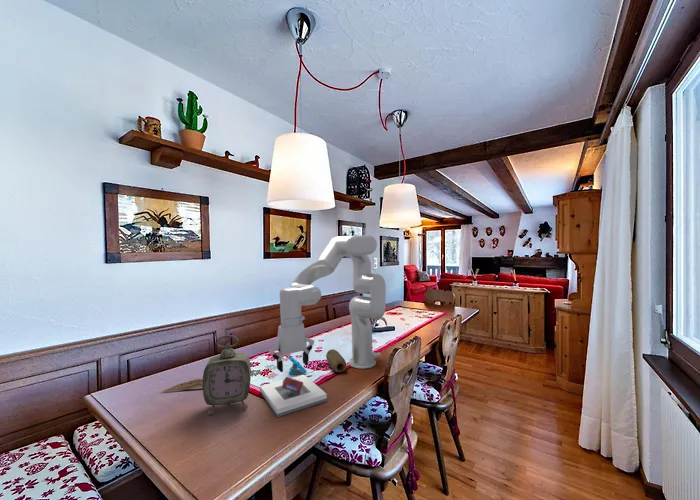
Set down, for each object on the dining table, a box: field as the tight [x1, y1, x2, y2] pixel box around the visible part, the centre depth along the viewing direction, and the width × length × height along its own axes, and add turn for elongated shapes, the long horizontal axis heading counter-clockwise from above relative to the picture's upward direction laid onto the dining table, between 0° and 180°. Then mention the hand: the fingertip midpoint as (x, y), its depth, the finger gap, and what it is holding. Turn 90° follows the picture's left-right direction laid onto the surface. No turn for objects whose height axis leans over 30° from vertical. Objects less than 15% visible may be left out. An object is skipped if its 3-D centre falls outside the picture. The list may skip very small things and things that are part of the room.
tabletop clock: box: [202, 334, 252, 416], centre depth 101 cm, size 14×9×25 cm, turn 105°
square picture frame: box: [259, 374, 328, 418], centre depth 108 cm, size 18×20×2 cm
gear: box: [288, 356, 307, 375], centre depth 129 cm, size 11×6×10 cm
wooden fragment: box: [160, 378, 203, 394], centre depth 119 cm, size 26×11×1 cm, turn 112°
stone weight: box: [325, 349, 347, 373], centre depth 134 cm, size 15×7×7 cm, turn 23°
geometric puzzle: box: [282, 373, 303, 396], centre depth 108 cm, size 7×7×8 cm
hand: (293, 367), depth 109 cm, fingers open, 9 cm apart
